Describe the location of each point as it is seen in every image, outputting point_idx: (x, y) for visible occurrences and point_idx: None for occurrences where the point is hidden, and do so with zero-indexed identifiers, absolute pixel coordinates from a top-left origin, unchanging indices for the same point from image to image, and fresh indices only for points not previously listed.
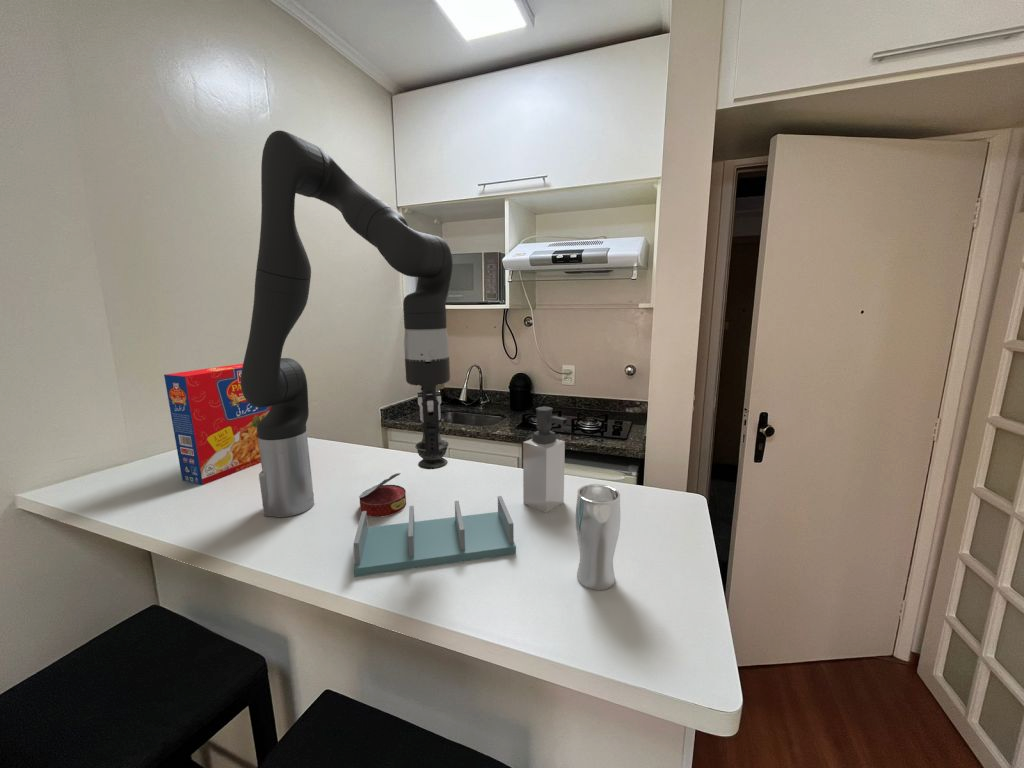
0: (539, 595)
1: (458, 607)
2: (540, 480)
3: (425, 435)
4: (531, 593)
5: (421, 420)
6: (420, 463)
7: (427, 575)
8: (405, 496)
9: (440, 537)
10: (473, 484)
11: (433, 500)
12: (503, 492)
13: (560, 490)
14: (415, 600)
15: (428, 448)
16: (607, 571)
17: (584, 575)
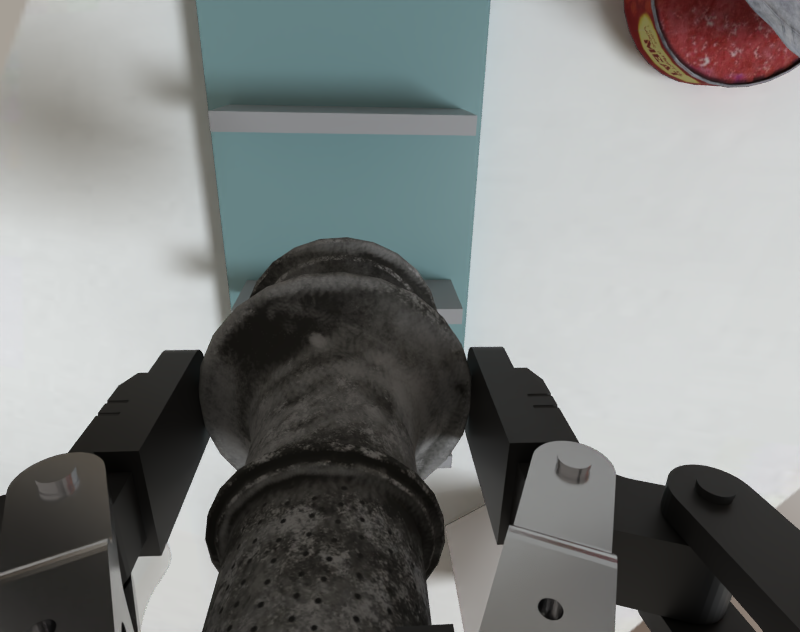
0: (69, 434)
1: (22, 243)
2: (482, 602)
3: (97, 454)
4: (77, 420)
5: (37, 561)
6: (318, 259)
7: (174, 161)
8: (713, 85)
9: (339, 220)
10: (732, 359)
11: (672, 203)
12: (621, 443)
13: None
14: (52, 120)
15: (110, 401)
16: None
17: None
